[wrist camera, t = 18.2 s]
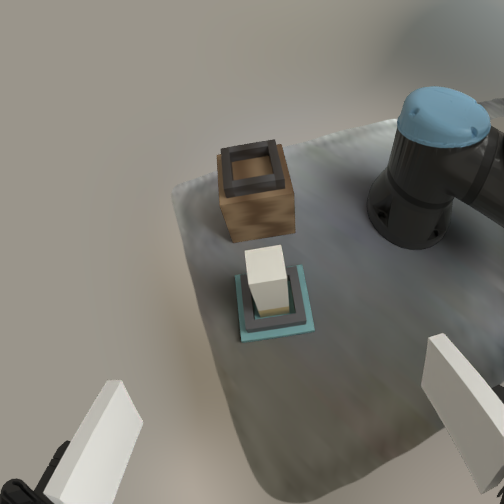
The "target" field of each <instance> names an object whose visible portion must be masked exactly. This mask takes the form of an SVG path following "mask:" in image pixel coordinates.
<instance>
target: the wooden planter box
mask: <svg viewBox="0 0 504 504" xmlns="http://www.w3.org/2000/svg"><path fill="white" fill-rule="evenodd" d="M217 170H218V187H219V203H220V208H221V211H222V214H223V216H224V219H225V222H226V225H227V227H228V230H229V233H230V236H231V238H232V241H233V243H236V242H243V241H249V240H255V239H261V238H267V237H273V236H279V235H286V234H292V233H295V205H294V191H293V187H292V183H291V179H290V175H289V171H288V167H287V164H286V160H285V156H284V152H283V148H282V145H281V144H278V145H276V142H275V140H268V141H262V142H256V143H250V144H244V145H238V146H233V147H227V148H222V149H221V154H220V155H217Z"/></svg>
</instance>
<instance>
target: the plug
mask: <svg viewBox="0 0 504 504" xmlns="http://www.w3.org/2000/svg"><path fill="white" fill-rule="evenodd" d="M245 259H246V267H247V276H248V285H249V287H250V290H251V293H252V295H253V298H254V301H255V303H256V306H257V309H258V312H259V314H260V317H261V318H262V317H268V316H275V315H281V314H287V313H290V312H289V298H288V285H287V275H286V270H285V264H284V258H283V253H282V247H281V245H277V246H271V247H265V248H258V249H252V250H246V251H245Z"/></svg>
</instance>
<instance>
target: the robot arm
mask: <svg viewBox="0 0 504 504" xmlns="http://www.w3.org/2000/svg"><path fill="white" fill-rule="evenodd" d="M454 197H455V198H457V199H459V200H461V201H462V202H464V203H466V204H467V205H469V206H471V207H472V208H474V209H476V210H477V211H479V212H480V213H482V214H484V215H485V216H487V217H488V218H490V219H491V220H493V221H494V222H496V223H497V224H499V225H500V226H502V227H503V228H504V133H503V132H501V131H499V130H498V129H496V128H494V127H492V126H491V124H490V118H489V115H488V113H487V111H486V110H485V109H484V108H483V107H482V106H481V105H480V104H477V103H476V101H475V100H474V99H473V98H471V97H469V96H468V95H465V94H464V93H461V92H459V91H456V90H453V89H449V88H444V87H436V86H431V87H423V88H419V89H417V90H415V91H413V92H411V93H410V94H409V95H408V96H407V98H406V99H405V101H404V105H403V108H402V111H401V114H400V116H399V117H398V120H397V131H396V135H395V139H394V143H393V147H392V151H391V155H390V159H389V163H388V166H387V167H386V169H385V170H384V171H383V172H382V173H381V174H380V175H379V177H378V178H377V179H376V180H375V181H374V183H373V185H372V187H371V189H370V192H369V196H368V200H367V209H368V214H369V217H370V219H371V222H372V223H373V225H374V226H375V228H376V229H377V230H378V232H379V233H380V234H381V235H382V236H384V237H385V238H386V239H387V240H389V241H390V242H392V243H394V244H396V245H398V246H400V247H403V248H407V249H414V250H419V249H426V248H429V247H431V246H433V245H435V244H436V243H438V242H439V241H440V240H441V238H442V237H443V235H444V234H445V232H446V231H447V229H448V227H449V224H450V220H451V212H452V203H453V199H454ZM421 387H422V389H423V390H424V392H425V393H426V395H427V397H428V398H429V400H430V402H431V403H432V405H433V407H434V409H435V410H436V412H437V414H438V415H439V417H440V419H441V421H442V422H443V424H444V426H445V428H446V429H447V431H448V433H449V435H450V436H451V438H452V440H453V442H454V444H455V445H456V447H457V449H458V450H459V453H460V454H461V456H462V458H463V460H464V462H465V464H466V466H467V468H468V470H469V472H470V473H471V476H472V477H473V479H474V481H475V483H476V485H477V487H478V489H479V491H480V493H481V494H483V493H485V492H487V491H489V490H490V489H492V488H494V487H496V486H498V484H499V483H500V482H501V481H502V479H503V478H504V387H502V386H500V385H497V386H495V387H493V388H490V387H489V385H488V384H487V383H486V382H485V380H484V379H483V378H482V377H481V376H480V374H479V373H478V372H477V371H476V370H475V369H474V367H473V366H472V365H471V364H470V363H469V362H468V360H467V359H466V358H465V357H464V356H463V355H462V353H461V352H460V351H459V350H458V349H457V348H456V347H455V346H454V344H453V343H452V342H451V341H450V340H449V339H448V338H447V337H446V336H445V334H444V333H442V334H439V335H435V336H432V337H428V344H427V352H426V359H425V365H424V371H423V377H422V382H421ZM142 425H143V421H142V419H141V417H140V415H139V414H138V412H137V410H136V408H135V406H134V404H133V402H132V400H131V398H130V396H129V394H128V393H127V390H126V389H125V386H124V384H123V382H122V381H121V380H107V382H106V383H105V385H104V387H103V388H102V390H101V391H100V393H99V395H98V396H97V398H96V400H95V401H94V403H93V405H92V406H91V408H90V410H89V411H88V413H87V415H86V416H85V418H84V420H83V422H82V423H81V425H80V427H79V428H78V430H77V432H76V434H75V435H74V437H73V439H72V441H66V442H64V443H63V444H62V445H61V446H60V447H59V448H58V449H57V451H56V453H55V455H54V456H53V459H52V460H51V462H50V463H49V466H48V467H47V468H46V471H45V472H44V474H43V476H42V478H41V479H40V481H39V483H38V485H37V487H36V488H35V490H34V491H33V490H31V489H30V488H29V487H28V486H27V485H26V484H25V483H24V482H23V481H22V480H20V479H11V480H9V481H7V482H6V483H5V484H4V485H3V487H2V490H1V494H0V504H113V501H114V498H115V496H116V493H117V490H118V487H119V485H120V482H121V479H122V477H123V474H124V471H125V469H126V466H127V464H128V461H129V458H130V456H131V453H132V450H133V448H134V445H135V443H136V440H137V438H138V435H139V432H140V430H141V427H142ZM502 493H503V495H502V499H501V502H500V504H504V487H503V488H502V489H501V490H500V492H499V493H498V495H497V497H500V495H501V494H502Z"/></svg>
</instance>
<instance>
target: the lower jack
mask: <svg viewBox="0 0 504 504" xmlns="http://www.w3.org/2000/svg"><path fill="white" fill-rule="evenodd" d="M285 270H286V275H287V285H288V298H289V312H290V313H287V314H281V315H275V316H268V317H262V318H261V317H260V314H259V312H258V309H257V306H256V303H255V301H254V298H253V295H252V293H251V290H250V287H249V285H248V276H247V273H246V274H239V275H235V282H236V292H237V303H238V313H239V323H240V332H241V341H242V343H244V342H252V341H259V340H266V339H273V338H280V337H286V336H292V335H298V334H304V333H310V332H314V331H315V329H314V323H313V318H312V312H311V307H310V302H309V297H308V291H307V286H306V281H305V276H304V271H303V266H302V265H296V266H290V267H285Z"/></svg>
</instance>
